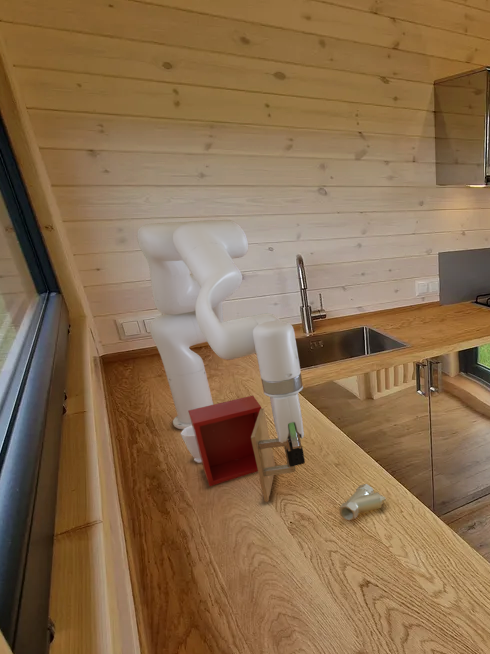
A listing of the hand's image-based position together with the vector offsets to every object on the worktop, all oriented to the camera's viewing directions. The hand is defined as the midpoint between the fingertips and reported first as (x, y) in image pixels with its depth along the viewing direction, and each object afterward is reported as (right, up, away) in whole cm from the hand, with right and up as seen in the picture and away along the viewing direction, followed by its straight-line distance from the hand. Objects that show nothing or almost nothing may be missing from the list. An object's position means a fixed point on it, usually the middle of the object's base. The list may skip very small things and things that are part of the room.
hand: (296, 461), depth 105 cm
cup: (-30, -1, +18) cm, 35 cm away
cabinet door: (-5, -6, +6) cm, 10 cm away
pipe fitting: (+16, -10, -4) cm, 19 cm away
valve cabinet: (-18, -4, +12) cm, 22 cm away
